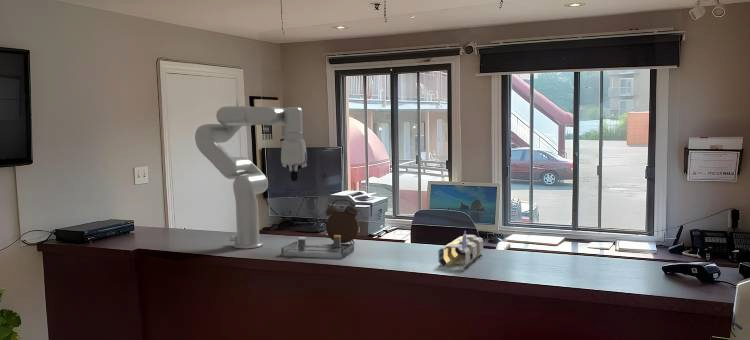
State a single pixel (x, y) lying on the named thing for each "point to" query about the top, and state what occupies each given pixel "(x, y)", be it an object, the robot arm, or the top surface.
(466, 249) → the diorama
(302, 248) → the fader cap
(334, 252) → the console
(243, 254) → the top surface
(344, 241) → the alarm clock
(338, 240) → the fader cap
